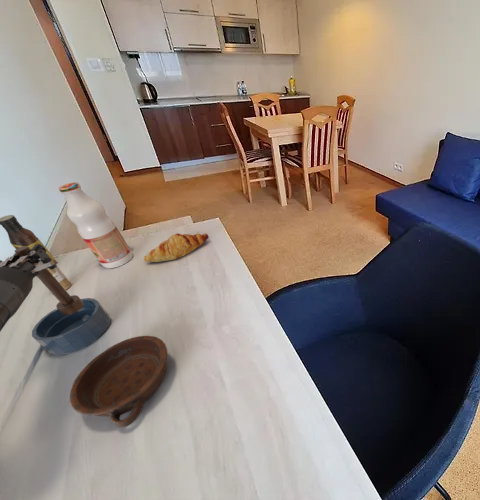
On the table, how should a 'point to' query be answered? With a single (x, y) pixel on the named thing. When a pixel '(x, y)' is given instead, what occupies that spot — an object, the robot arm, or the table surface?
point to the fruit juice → (96, 227)
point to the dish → (120, 379)
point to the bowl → (71, 328)
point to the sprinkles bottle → (60, 277)
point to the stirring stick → (55, 288)
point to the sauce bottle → (20, 234)
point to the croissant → (176, 247)
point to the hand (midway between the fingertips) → (33, 249)
